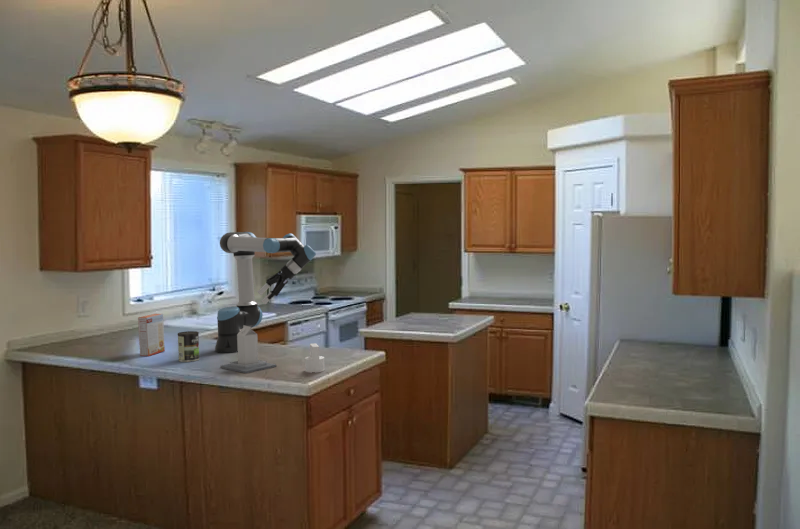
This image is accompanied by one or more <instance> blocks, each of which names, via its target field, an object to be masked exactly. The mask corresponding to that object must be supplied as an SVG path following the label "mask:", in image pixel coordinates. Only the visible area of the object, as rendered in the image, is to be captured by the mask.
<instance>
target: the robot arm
mask: <svg viewBox="0 0 800 529" xmlns="http://www.w3.org/2000/svg"><path fill="white" fill-rule="evenodd" d="M219 247H220V248H221V250H222V251H223V252H225V253H227V254H233V257H234V259H236V273H237V288H238V289H237V291H238V302H237V304H236V306H227V307H226V306H225V307H222V308H220V309H219V310H218V311H217V317H216V319H217V340H216V342H215V346H214V351H215V352H216V353H221V352H230V353H236V351H238V345H237V334H238V333H239V332H240V331H241V330H242V328H243V325H245V326H249V327H251V329H253V328H254V327H258V326H259V325H260V324H261V322H262V320H263V310H262V309H261V307H260V306H258V302H256V300H255V286H254V285H255V284H254V267H253V258H254V257H255V256H256V255H255V253H256V252H257V253H267V254H277V253H290V254H291V255H292V256H293V257H292V258H290V260H289V261H287V263H286V265H285V264H284V265H283V266H282V267H281V268H280V270H279V271H278V272H277V273H275V274H273V275H272V276H270V277H269V278H267V279H266V281H265V282H266V283H264V285H262V287H260V289H258V290H257V291H256V293H258V294H259V295H260V296H262V295H263V294H264V293H265V292H266V291H267V290H268V289H270V287H272V285H274V284H275V286H274V287H273V289H272V290H270V292H268V294H267V295H265V297H264V298H262V299H261V302H262V303H263V304H264V305H267V304H268V303H269V302H270V300H271V299H273V298H274V297H278V295H279V294H280V293H281V291H282V290H283V289H284V288H285V286H286V285H287V284H288V283H289V281H288V280H292V279H293V278H294V277H295V276H296V275H297V274H298V273H299V272H301V271H302V269H304V267H305V266H306V265H307V264H308V263H310V262H311V261H312V260H313V259H314V258H315V257H316V254H317V253H316V251H315V250H314V249H313V248H312V247H311V246H310V245H309V244H305V245H304V244H303V243H302V242H301V240H300V239H299V238H298V237H297V236H296V235H294V234H293V233H287V234H284V236H282V237H257V236H256V235H255V234H254V233H253V232H251V231H243V232H242V231H236V232H235V231H234V232H231V231H230V232H227V233H224V234H223V235H222V236H221V237H220V240H219Z"/></svg>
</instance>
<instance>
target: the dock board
mask: <svg viewBox="0 0 800 529" xmlns="http://www.w3.org/2000/svg"><path fill="white" fill-rule="evenodd" d="M276 367H277V364H275V363H271V362H267V365H262V366H258V367H253V368H248V369H243V368H238V367H234V366H230V363H226V364H221V365H220V367H219V368H220V369H225V370H230V371H234V372H238V373H243V374H250V373H254V372H258V371H263V370H268V369H271V368H276Z"/></svg>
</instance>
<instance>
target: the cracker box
mask: <svg viewBox="0 0 800 529" xmlns="http://www.w3.org/2000/svg"><path fill="white" fill-rule="evenodd" d="M137 322H138V342H139V343H138V344H139V357H150V356H153V355H157V354H159V353H162V352H163V351H164V352H165V347H166V346H165V329H164V328H165V327H164V314H163V313H153V314H147V315H142V316H139V317H137Z"/></svg>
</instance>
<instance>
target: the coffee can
mask: <svg viewBox="0 0 800 529" xmlns="http://www.w3.org/2000/svg"><path fill="white" fill-rule="evenodd" d="M199 336H200V335H199V331H195V330H193V331H192V330H190V331H189V330H187V331H181V332H177V344H178V345H177V349H178V361H179V362H180V363H181V362H182V363H187V362H188V363H189V362H191V361H192V362H196V361H199V360H200V338H199Z"/></svg>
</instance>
